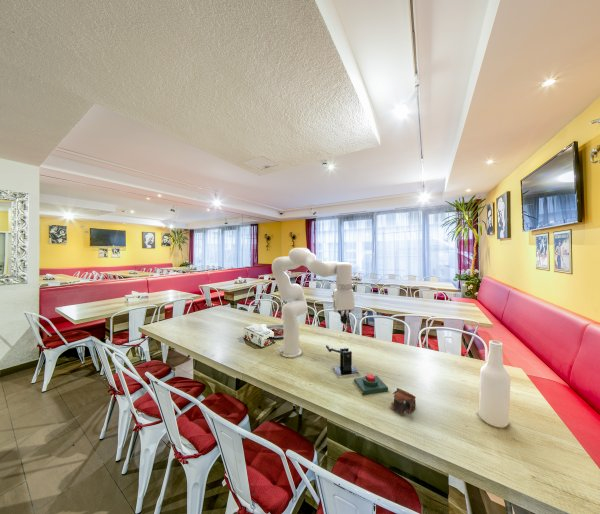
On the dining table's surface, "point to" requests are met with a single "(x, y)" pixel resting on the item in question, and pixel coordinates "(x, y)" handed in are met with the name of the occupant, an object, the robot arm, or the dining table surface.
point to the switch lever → (334, 350)
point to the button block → (371, 385)
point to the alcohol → (494, 388)
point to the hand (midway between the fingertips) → (343, 322)
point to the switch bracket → (345, 363)
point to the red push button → (370, 377)
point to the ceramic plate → (277, 330)
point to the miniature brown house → (399, 402)
